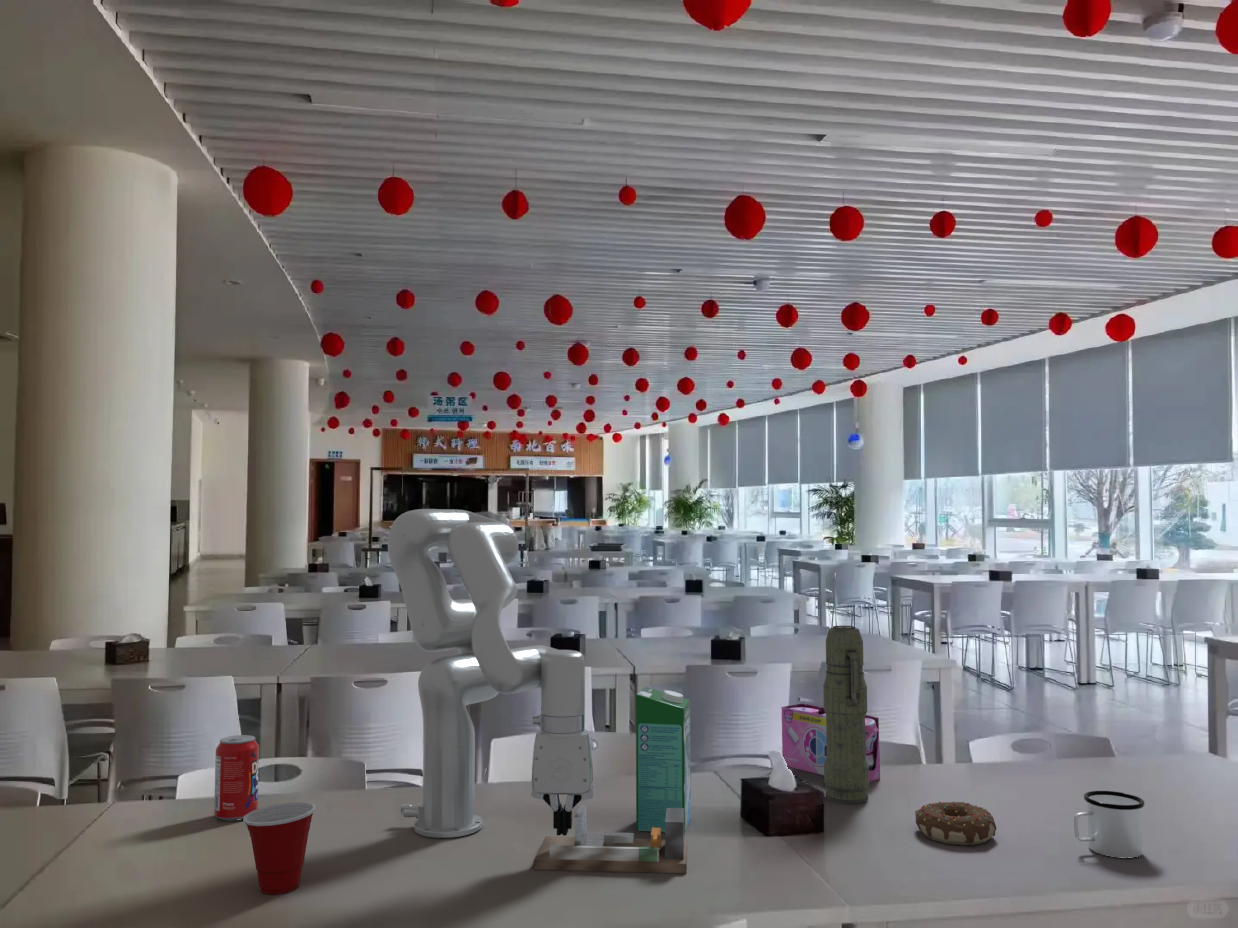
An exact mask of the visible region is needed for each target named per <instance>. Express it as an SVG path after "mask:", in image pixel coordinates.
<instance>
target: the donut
mask: <svg viewBox="0 0 1238 928" xmlns="http://www.w3.org/2000/svg"><path fill="white" fill-rule="evenodd" d="M914 812H915V815H914V816H915V824H916V826H917V827H918V829H919V832H920V833H921V834H923V835H924V836H926V837H927V838H929V839H930V840H933V841H936V842H940V843H943V844H949V845H955V846H956V845H957V846H973V845H981V844H984V843H986V842H989V840H990V839H991V838H992V837H995V836H996V831H997V828H998V827H997V825H996V822H995V819H994V816H993V815H992V813H990V812H989V811H988V810H987V808H984V807H983V806H982V807H981V806H978V805H974V804H971V803H970V802H965V801H961V802H960V801H952V802H951V801H950V802H949V801H948V802H947V801H944V802H941V801H938V802H935V803H934V802H933V803H931V802H929V803H927V804H925V805H922V806H921V808H920V809H917V810H914Z"/></svg>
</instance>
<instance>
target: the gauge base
mask: <svg viewBox="0 0 1238 928" xmlns="http://www.w3.org/2000/svg"><path fill="white" fill-rule="evenodd" d="M687 867H688V839H685V833H684V808H667V809H666V818H665V832H664V838H661V850H659V848H657V847H651V838H634V842H633V843H605V846H575V836H548V835H547V836H545V837H544V839H543V840H542V843H541V845H540V847H539V849H538V850H537V853H536V855H535V857H534V860H533V869H534V870H542V871H543V870H545V871H546V870H547V871H548V870H549V871H550V870H551V871H580V872H581V871H584V872H585V871H586V872H593V871H594V872H616V873H617V872H622V873H623V872H627V873H628V872H629V873H656V874H657V873H662V874H687V872H688V871H687V870H688V868H687Z"/></svg>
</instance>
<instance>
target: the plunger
mask: <svg viewBox="0 0 1238 928" xmlns="http://www.w3.org/2000/svg"><path fill="white" fill-rule="evenodd" d="M577 808H578V809H577V811H576V813H575V815H574V837H575V846H605V843H633V842H634V839H635V832H613V831H611V832H609V831H606V832H605V831H604V833H592V832H591V833H590V832H588V830H587V828H588V827H587V824H588V823H587V821H588V820H587V817H588V816H587V813H588V812H587V810H588V809H587V808H588V807H587V804H580V805H579V806H578V807H577Z"/></svg>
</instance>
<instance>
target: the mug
mask: <svg viewBox="0 0 1238 928" xmlns="http://www.w3.org/2000/svg"><path fill="white" fill-rule="evenodd" d="M1083 800H1084V801H1085V802H1086V803H1087V804H1086V805H1087V806H1086V807H1087V811H1083V812H1082V811H1081V812H1077V813H1075V814H1074V817H1073V828H1074V836H1075V838H1076V839H1077V841H1079V842H1088V844H1087V845H1088V848H1089V850H1091V851H1092V850H1093V851H1092V852H1093V853H1095V854H1098V853H1099V854H1098V855H1100V854H1104V855H1108V856H1113V857H1124V858H1125V857H1126V858H1128V857H1137V856H1139V857H1141V856H1143V853H1144V851H1143V822H1142V821H1143V820H1142V819H1143V818H1142V809H1143V808H1144V807H1145V805H1146V804H1145V802H1146V801H1145V800H1144V799H1143V798H1141V797H1139V796H1137V795H1134V794H1130V793H1126V792H1120V791H1113V790H1091V791H1087V792H1085V793H1084V794H1083ZM1081 816H1086V817H1087V837H1080V834H1079V817H1081ZM1140 855H1141V856H1140ZM1137 858H1138V857H1137Z"/></svg>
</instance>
